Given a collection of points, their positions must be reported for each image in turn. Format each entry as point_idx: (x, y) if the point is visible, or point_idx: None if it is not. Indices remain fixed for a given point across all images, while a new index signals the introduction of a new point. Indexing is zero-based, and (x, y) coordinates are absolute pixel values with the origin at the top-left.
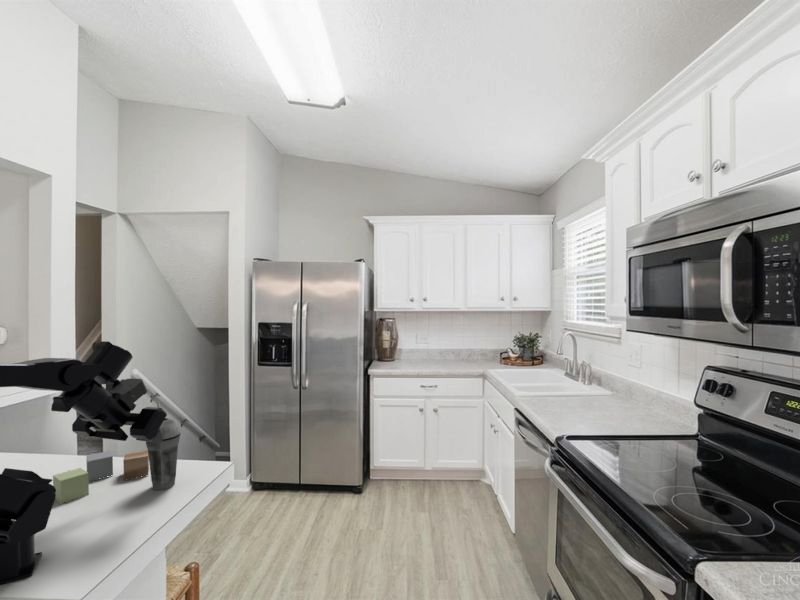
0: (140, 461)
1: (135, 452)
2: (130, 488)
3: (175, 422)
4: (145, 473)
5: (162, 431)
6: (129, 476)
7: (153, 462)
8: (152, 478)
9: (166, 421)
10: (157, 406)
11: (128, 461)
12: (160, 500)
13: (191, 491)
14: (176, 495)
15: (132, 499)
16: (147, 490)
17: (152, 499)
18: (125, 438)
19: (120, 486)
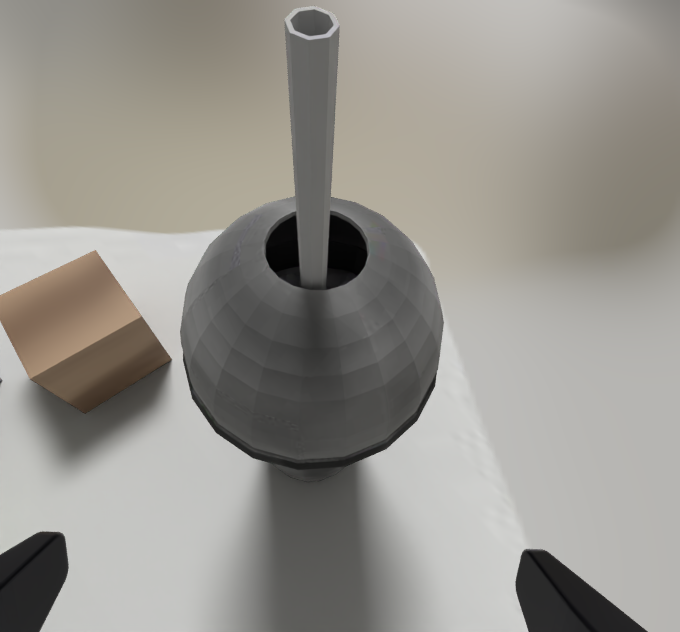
0: (119, 345)
1: (42, 284)
2: (172, 484)
3: (391, 223)
4: (159, 360)
5: (403, 394)
6: (101, 396)
7: (306, 471)
8: (290, 475)
9: (389, 278)
10: (295, 135)
11: (61, 370)
12: (407, 578)
13: (471, 468)
14: (438, 515)
15: (263, 594)
16: (269, 490)
17: (361, 575)
18: (53, 576)
19: (107, 472)
